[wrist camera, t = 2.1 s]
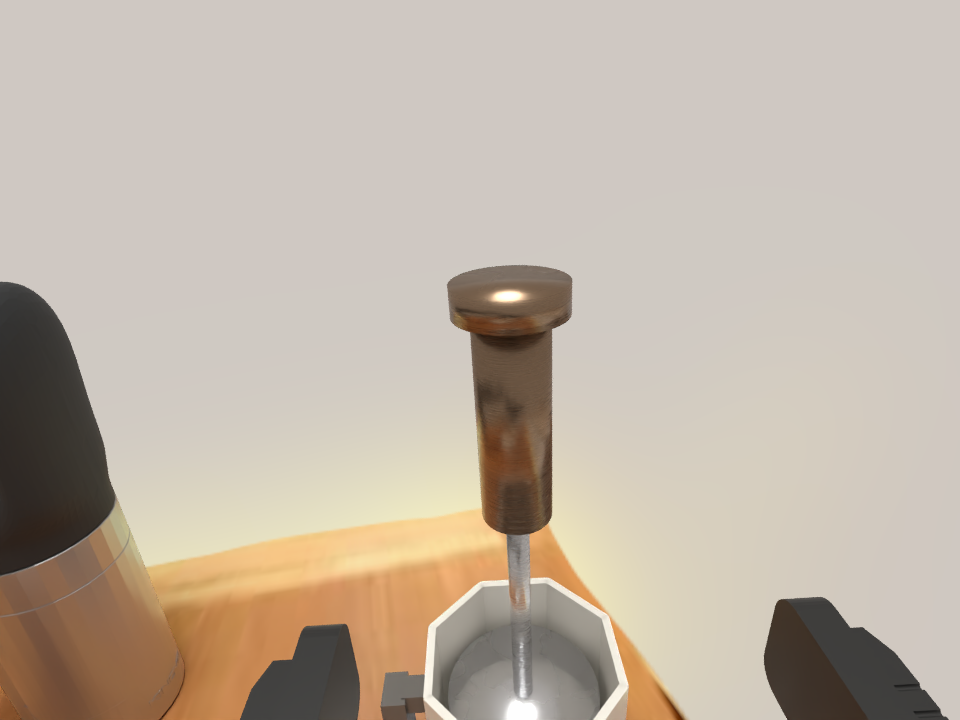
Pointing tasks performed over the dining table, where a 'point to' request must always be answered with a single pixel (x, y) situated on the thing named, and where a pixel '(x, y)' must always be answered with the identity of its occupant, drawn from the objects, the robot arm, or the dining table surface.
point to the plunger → (516, 492)
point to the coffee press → (492, 611)
